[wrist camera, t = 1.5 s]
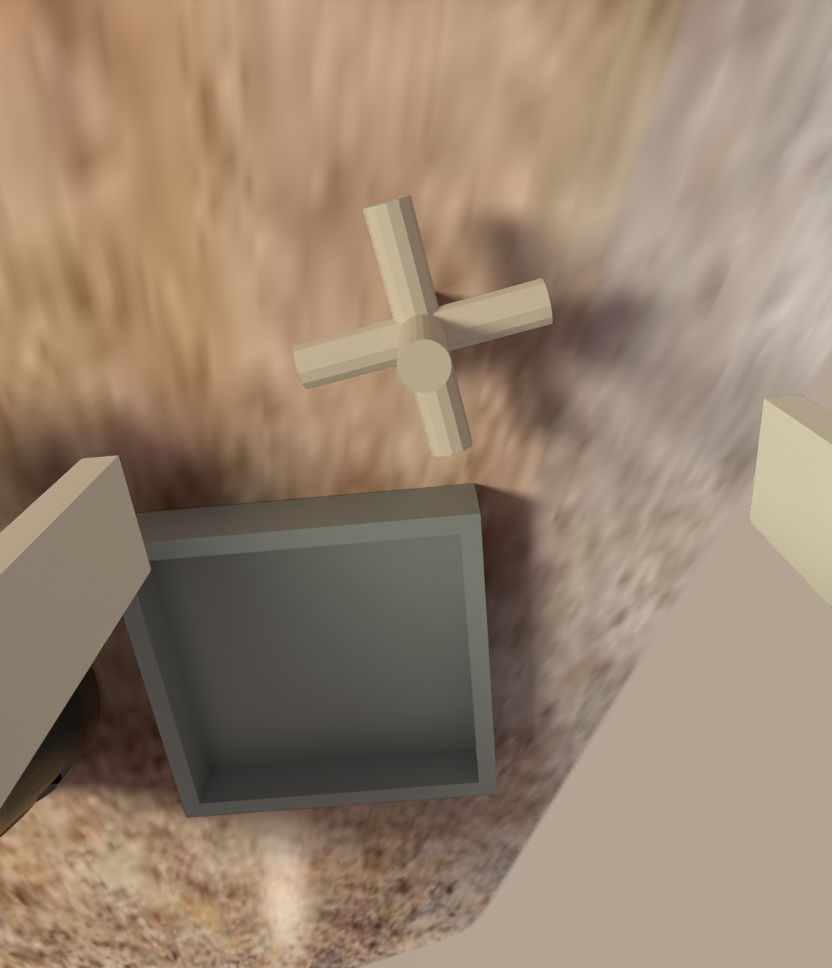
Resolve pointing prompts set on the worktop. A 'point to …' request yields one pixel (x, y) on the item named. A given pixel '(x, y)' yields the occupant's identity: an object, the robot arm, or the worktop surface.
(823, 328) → the worktop surface
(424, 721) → the tray
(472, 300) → the pipe connector
